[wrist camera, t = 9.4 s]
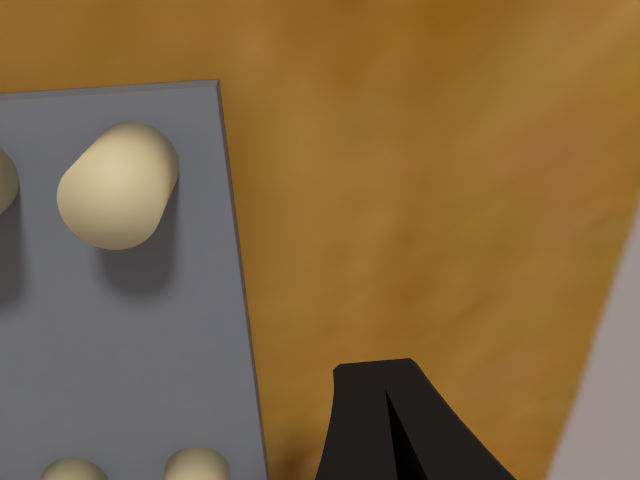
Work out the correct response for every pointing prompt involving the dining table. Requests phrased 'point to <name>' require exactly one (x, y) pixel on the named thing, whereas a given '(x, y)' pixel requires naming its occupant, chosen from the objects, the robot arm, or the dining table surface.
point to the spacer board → (123, 289)
